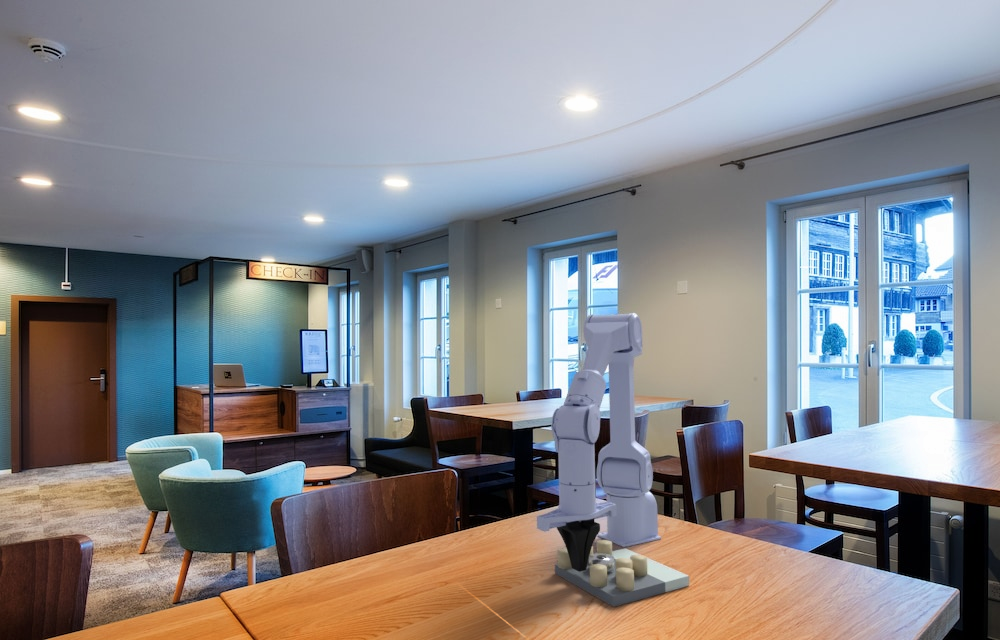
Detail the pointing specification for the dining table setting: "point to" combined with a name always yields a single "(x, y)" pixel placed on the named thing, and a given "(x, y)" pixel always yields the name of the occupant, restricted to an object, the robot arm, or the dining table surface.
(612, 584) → the board
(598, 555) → the steel nut
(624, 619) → the dining table surface
